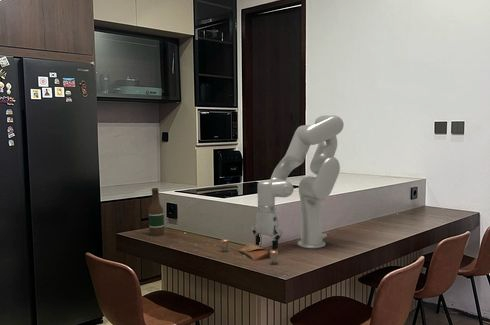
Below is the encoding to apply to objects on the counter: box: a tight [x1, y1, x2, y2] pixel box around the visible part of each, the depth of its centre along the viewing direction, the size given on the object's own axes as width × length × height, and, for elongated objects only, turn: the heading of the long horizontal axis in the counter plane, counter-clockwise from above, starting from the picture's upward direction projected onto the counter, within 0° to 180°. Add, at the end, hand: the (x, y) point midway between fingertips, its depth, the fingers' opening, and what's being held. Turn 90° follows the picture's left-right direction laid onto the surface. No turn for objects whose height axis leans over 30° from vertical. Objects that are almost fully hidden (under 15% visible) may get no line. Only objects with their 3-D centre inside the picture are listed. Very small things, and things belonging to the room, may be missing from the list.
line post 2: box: [269, 249, 279, 265], centre depth 194 cm, size 3×3×5 cm
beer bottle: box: [148, 187, 165, 237], centre depth 246 cm, size 8×8×24 cm
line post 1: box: [220, 238, 230, 253], centre depth 213 cm, size 3×3×5 cm
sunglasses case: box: [236, 241, 270, 262], centre depth 207 cm, size 18×7×7 cm, turn 28°
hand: (266, 247), depth 212 cm, fingers open, 9 cm apart
